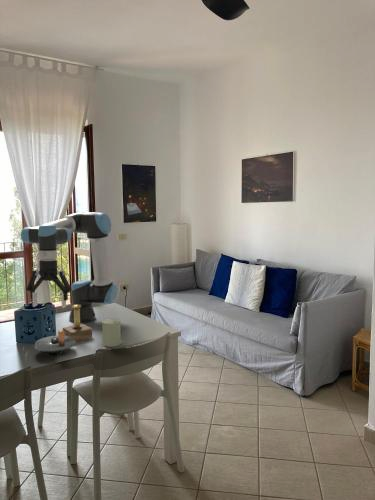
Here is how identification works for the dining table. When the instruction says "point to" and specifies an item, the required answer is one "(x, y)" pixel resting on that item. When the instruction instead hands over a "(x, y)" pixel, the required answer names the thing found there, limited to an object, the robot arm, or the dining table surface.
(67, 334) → the brown square block
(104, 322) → the can
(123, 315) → the dining table surface
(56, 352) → the wheel base
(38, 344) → the handwheel
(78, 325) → the hook pin
